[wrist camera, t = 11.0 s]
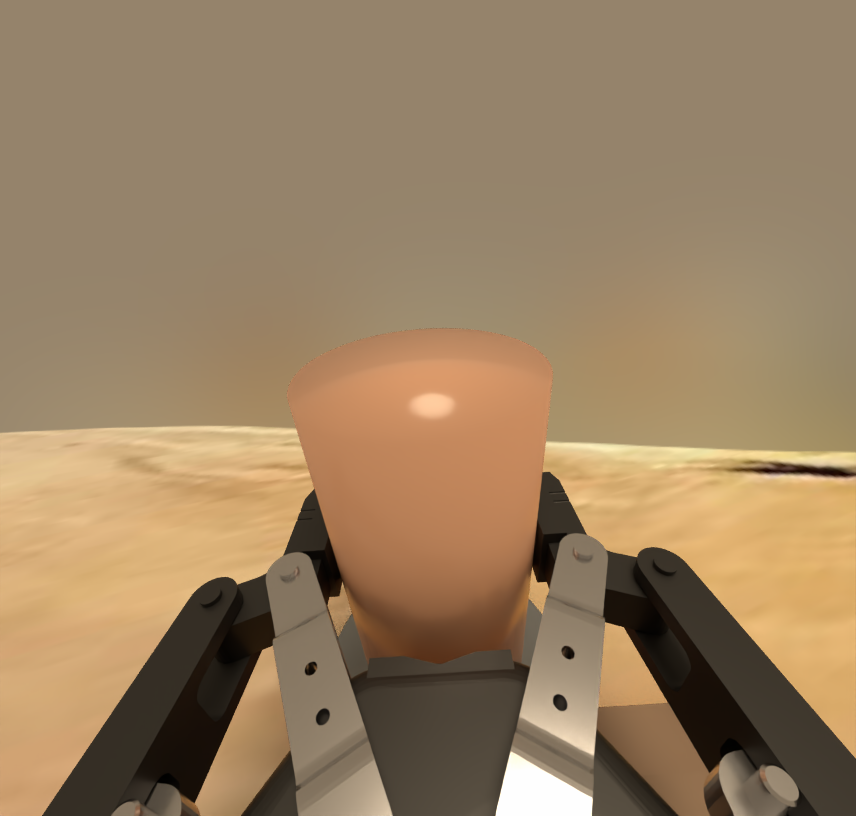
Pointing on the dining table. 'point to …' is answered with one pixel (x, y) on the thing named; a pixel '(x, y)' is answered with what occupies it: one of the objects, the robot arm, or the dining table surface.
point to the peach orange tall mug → (429, 484)
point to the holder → (658, 753)
